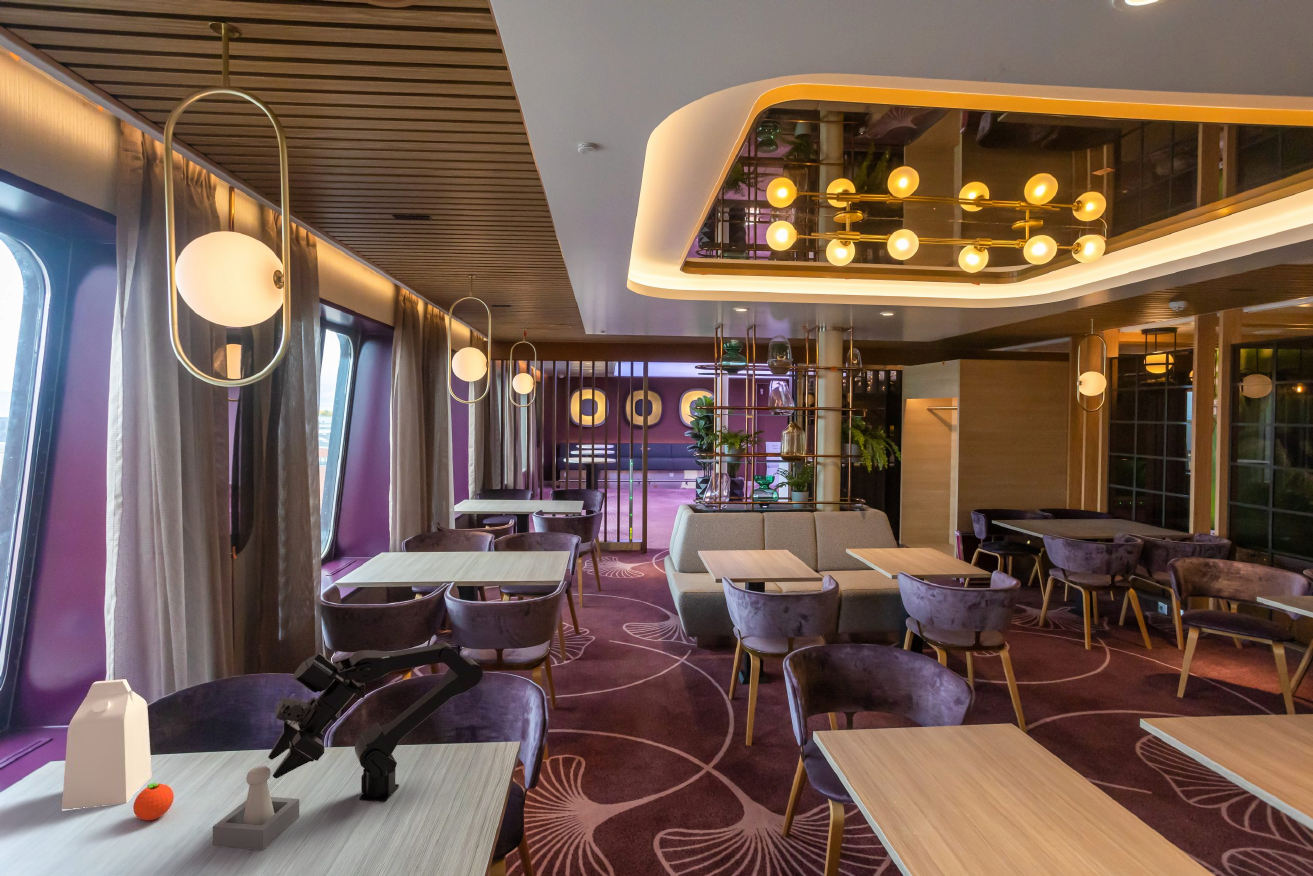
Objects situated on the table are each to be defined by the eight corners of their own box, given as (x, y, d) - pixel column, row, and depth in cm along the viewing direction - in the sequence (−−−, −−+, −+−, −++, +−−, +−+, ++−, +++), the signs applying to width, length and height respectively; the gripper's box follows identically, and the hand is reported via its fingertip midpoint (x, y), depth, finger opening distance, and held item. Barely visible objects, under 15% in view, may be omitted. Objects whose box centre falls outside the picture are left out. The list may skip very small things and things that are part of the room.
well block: (299, 817, 138) (299, 799, 138) (263, 850, 127) (263, 830, 127) (252, 813, 139) (252, 795, 139) (212, 846, 128) (212, 826, 128)
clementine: (127, 817, 137) (127, 785, 137) (166, 802, 143) (166, 771, 143) (138, 832, 133) (138, 798, 133) (178, 816, 138) (178, 783, 138)
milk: (151, 776, 154) (152, 670, 154) (126, 803, 143) (126, 688, 142) (92, 783, 150) (92, 674, 150) (61, 811, 139) (61, 694, 139)
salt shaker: (272, 818, 138) (272, 759, 137) (276, 832, 133) (277, 770, 133) (240, 829, 134) (240, 768, 134) (243, 843, 129) (244, 779, 129)
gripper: (295, 670, 145) (237, 731, 139) (306, 698, 130) (242, 768, 124) (333, 696, 150) (279, 756, 144) (348, 726, 135) (289, 795, 128)
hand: (272, 767), depth 135 cm, fingers open, 9 cm apart
